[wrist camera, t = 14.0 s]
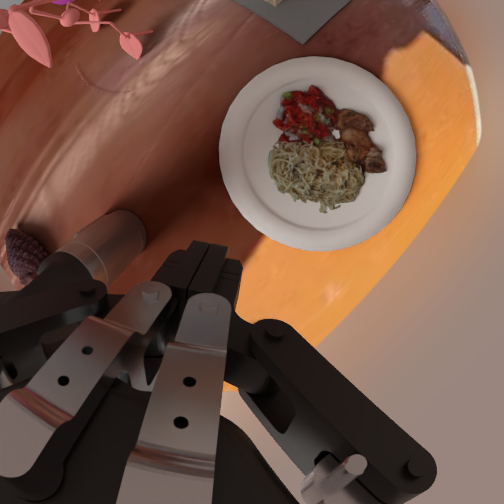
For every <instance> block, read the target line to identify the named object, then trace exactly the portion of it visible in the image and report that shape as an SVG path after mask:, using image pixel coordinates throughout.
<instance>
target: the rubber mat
mask: <svg viewBox="0 0 504 504" xmlns="http://www.w3.org/2000/svg"><path fill="white" fill-rule="evenodd" d="M233 1H235V2H237V3H238V4H240V5H242V6H244V7H246V8H247V9H249V10H251V11H252V12H254V13H256V14H257V15H259V16H261V17H262V18H264V19H265V20H267V21H268V22H270V23H272V24H273V25H275V26H276V27H278V28H279V29H281V30H282V31H284V32H285V33H286V34H288V35H289V36H291V37H292V38H294V39H295V40H296V41H298V42H299V43H300V44H302V45H304V44H305V43H306V42H307V41H308V40H309V39H310V38H311V37H312V36H313V35H314V34H315V33H316V32H317V31H318V30H319V29H320V28H321V27H322V26H323V25H324V24H325V23H326V22H328V21H329V20H330V19H331V18H332V17H333V16H334V15H335V14H336V13H337V12H339V11H340V10H341V9H342V8H343V7H344V6H345V5H346V4H348V3H349V2H350V1H351V0H282V1H281V2H280V3H279V4H278V5H277V6H276V7H275V6H273V5H272V4H270V3H269V2H267V1H265V0H233Z"/></svg>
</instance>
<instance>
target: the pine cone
mask: <svg viewBox="0 0 504 504" xmlns="http://www.w3.org/2000/svg"><path fill="white" fill-rule="evenodd" d="M7 233H8V234H7V235H6V237H5V240H6V249H7V250H6V251H7V260H8V263H9V266H10V269H11V270H12V272H13V273H14V274H15V275H16V276H17V277H19V279H20V283H21V284H23V285H25V286H26V285H28V284H29V283H30V282H31V281H32V280H33V279H34V278H35V277H37V273H38V268H39V266H40V264H41V263H42V262H43V261H44V260H45V259H46V256H47V253H46V252H45V251H43V246H39V242H38V241H37V240H35V241H34V239H33V237H30V236H29V235H26V234H25V233H24V232H20V231H19V230H17V229H13V228H12V229H9V231H8V232H7Z"/></svg>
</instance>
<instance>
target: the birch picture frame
mask: <svg viewBox="0 0 504 504" xmlns="http://www.w3.org/2000/svg"><path fill="white" fill-rule="evenodd" d="M265 1H267V2H269V3H270V4H272V5H273V6H275V7H276V6H277V5H278V4H279V3H280V2H281V1H282V0H265Z"/></svg>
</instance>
